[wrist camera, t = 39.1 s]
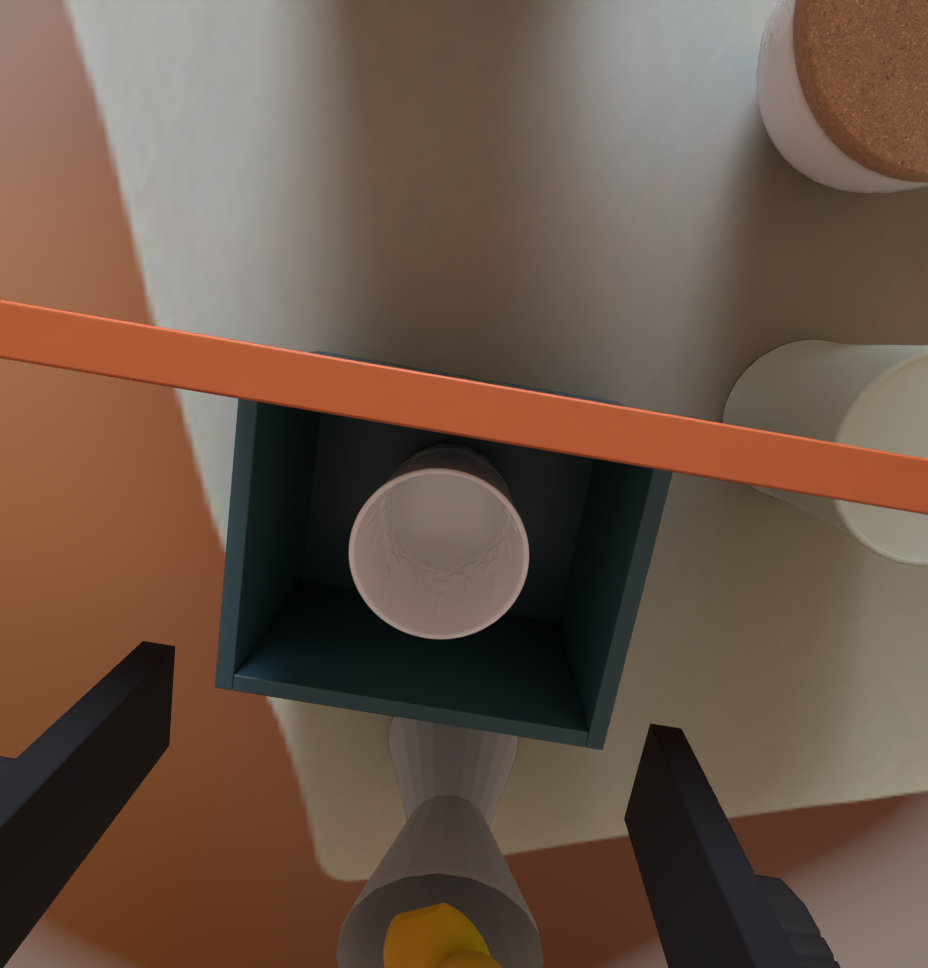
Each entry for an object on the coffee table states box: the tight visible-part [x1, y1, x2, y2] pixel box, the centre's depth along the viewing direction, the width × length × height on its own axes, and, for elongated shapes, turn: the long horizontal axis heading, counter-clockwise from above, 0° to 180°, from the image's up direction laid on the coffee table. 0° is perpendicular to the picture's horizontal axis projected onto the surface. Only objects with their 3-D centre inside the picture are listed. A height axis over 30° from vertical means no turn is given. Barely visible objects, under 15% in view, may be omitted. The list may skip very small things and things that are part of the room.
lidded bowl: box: [757, 0, 928, 193], centre depth 27 cm, size 13×13×11 cm
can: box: [722, 340, 928, 566], centre depth 30 cm, size 9×9×12 cm
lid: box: [0, 300, 928, 515], centre depth 16 cm, size 15×18×1 cm
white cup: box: [349, 443, 529, 639], centre depth 32 cm, size 8×8×10 cm
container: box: [215, 351, 672, 750], centre depth 32 cm, size 15×18×12 cm
